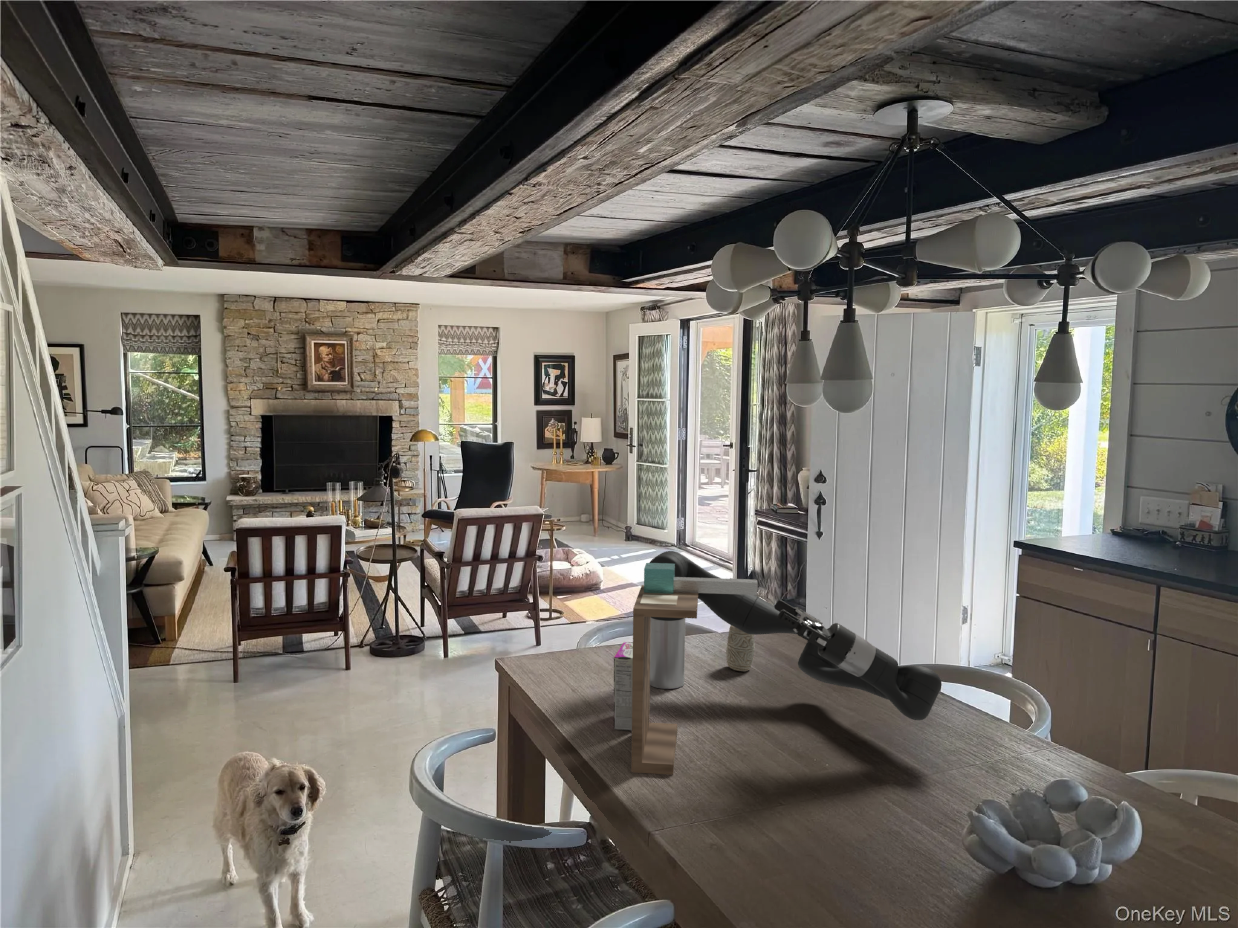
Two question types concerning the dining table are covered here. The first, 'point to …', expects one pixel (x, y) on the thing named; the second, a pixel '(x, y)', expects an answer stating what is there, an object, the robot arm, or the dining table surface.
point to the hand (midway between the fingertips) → (777, 608)
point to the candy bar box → (623, 687)
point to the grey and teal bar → (692, 582)
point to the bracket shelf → (649, 739)
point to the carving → (739, 649)
